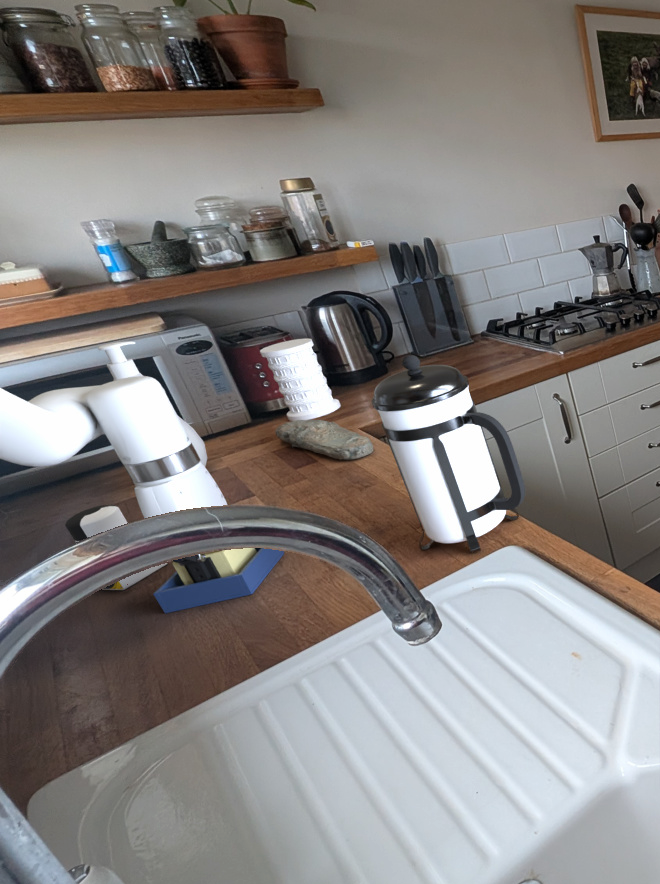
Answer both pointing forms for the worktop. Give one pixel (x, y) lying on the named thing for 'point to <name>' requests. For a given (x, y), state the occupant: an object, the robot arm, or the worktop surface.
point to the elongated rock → (325, 439)
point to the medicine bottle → (99, 522)
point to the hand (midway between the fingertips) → (221, 568)
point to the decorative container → (300, 379)
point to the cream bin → (222, 562)
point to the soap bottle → (127, 369)
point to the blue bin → (217, 584)
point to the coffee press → (446, 453)
